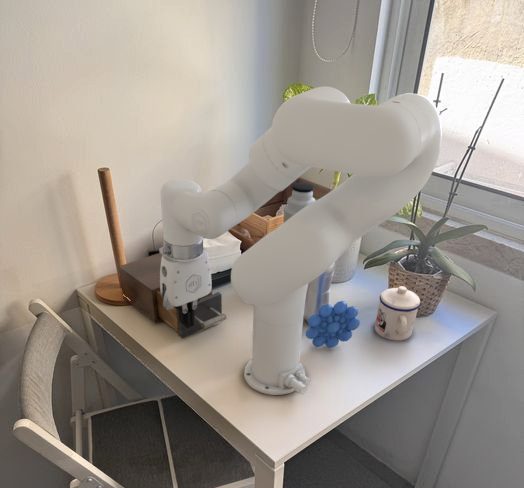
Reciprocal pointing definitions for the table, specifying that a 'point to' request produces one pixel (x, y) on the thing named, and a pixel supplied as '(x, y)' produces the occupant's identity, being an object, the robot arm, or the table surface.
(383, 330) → the teacup with lid
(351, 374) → the table surface
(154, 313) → the cabinet
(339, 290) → the table surface
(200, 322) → the drawer
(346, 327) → the blue knobbly flower
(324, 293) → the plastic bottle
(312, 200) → the thermos bottle
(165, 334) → the table surface
